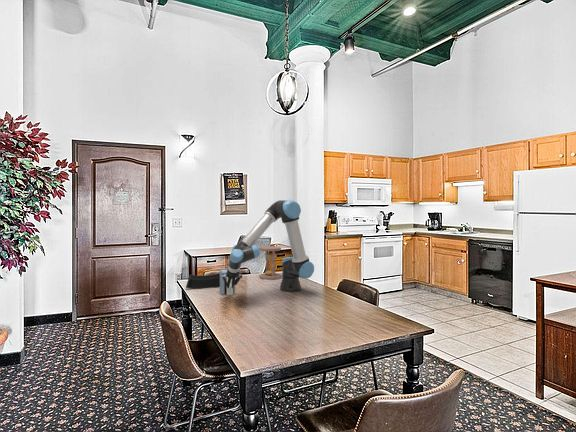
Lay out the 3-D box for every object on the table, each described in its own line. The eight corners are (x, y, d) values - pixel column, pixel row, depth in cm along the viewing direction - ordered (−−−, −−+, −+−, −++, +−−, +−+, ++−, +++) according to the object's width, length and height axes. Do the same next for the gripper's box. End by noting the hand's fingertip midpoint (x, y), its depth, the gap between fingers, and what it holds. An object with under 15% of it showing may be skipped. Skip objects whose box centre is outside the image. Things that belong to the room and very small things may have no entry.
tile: (232, 294, 244) (232, 276, 243) (226, 295, 242) (226, 277, 242) (230, 290, 256) (230, 273, 256) (224, 290, 255) (224, 273, 254)
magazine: (182, 277, 255) (223, 262, 265) (182, 276, 258) (222, 262, 268) (190, 300, 258) (230, 284, 268) (189, 298, 261) (229, 283, 271)
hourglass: (257, 276, 308) (258, 246, 307) (278, 275, 312) (278, 245, 311) (261, 280, 291) (261, 248, 290) (282, 279, 295) (283, 248, 294)
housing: (235, 294, 245) (235, 272, 244) (222, 295, 242) (222, 273, 242) (231, 289, 258) (231, 269, 257) (219, 290, 255) (219, 269, 255)
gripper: (223, 274, 221) (219, 295, 237) (245, 273, 225) (239, 294, 241) (222, 264, 226) (218, 285, 242) (243, 263, 230) (238, 284, 246)
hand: (229, 290), depth 241 cm, fingers closed
